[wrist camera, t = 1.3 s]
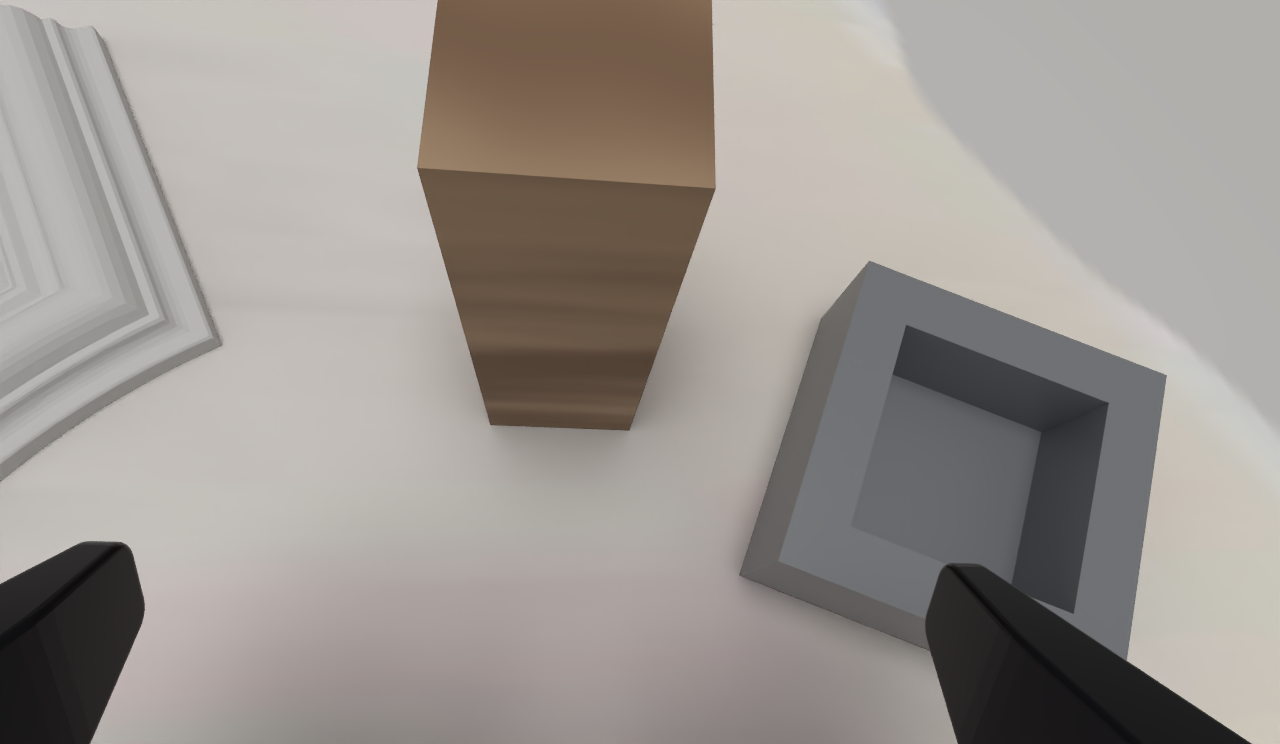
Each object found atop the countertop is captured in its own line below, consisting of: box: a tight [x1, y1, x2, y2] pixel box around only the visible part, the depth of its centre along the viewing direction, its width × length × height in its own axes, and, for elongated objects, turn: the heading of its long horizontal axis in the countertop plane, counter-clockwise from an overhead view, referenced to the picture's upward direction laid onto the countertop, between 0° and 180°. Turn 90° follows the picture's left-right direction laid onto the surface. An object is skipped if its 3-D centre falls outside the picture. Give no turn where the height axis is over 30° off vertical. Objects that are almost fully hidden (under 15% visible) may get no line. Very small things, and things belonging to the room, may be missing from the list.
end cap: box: [740, 261, 1167, 661], centre depth 21 cm, size 8×8×4 cm
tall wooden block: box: [417, 0, 716, 430], centre depth 17 cm, size 4×4×13 cm
